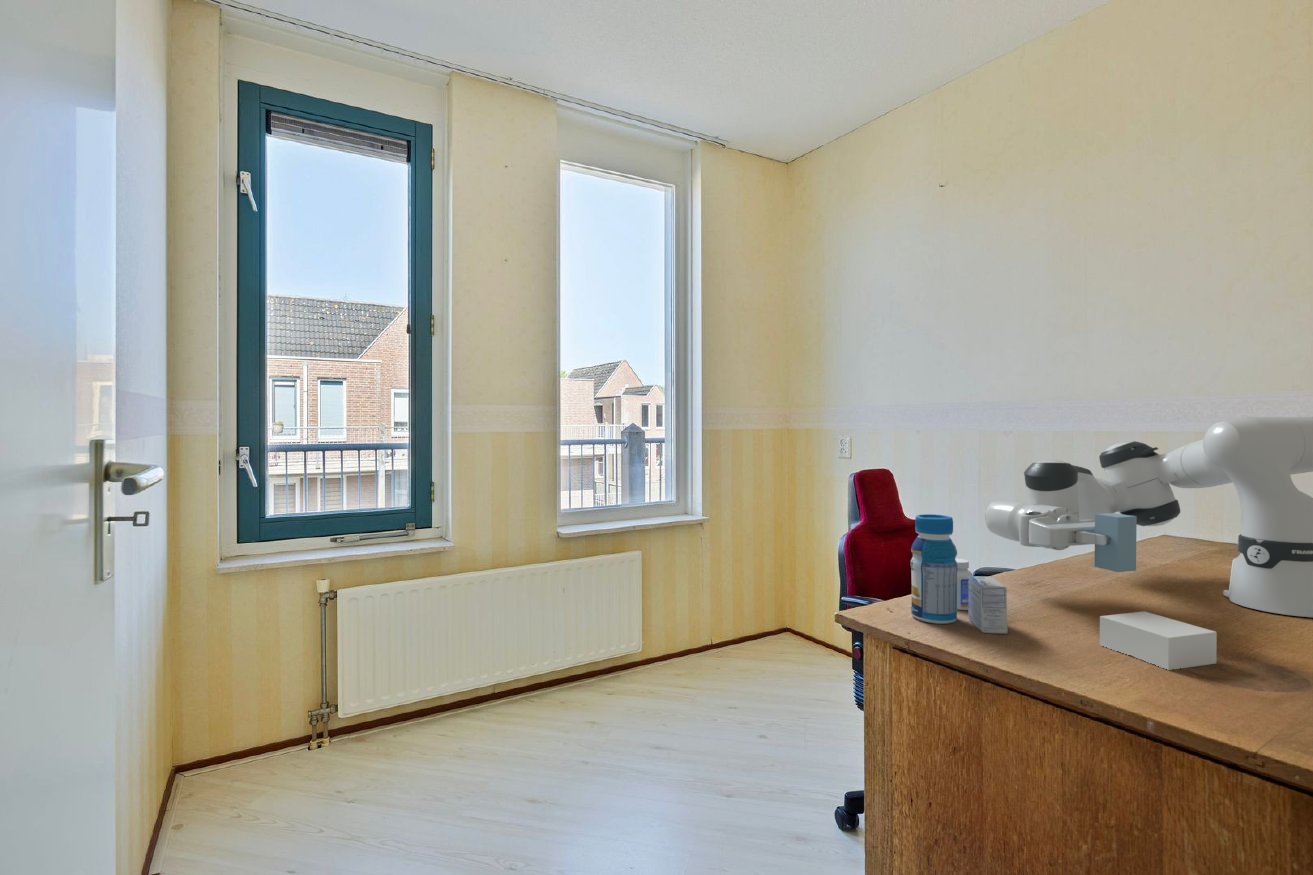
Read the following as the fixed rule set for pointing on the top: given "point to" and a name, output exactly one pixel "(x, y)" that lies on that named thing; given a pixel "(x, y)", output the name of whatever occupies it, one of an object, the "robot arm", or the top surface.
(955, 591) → the beverage bottle
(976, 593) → the medicine box
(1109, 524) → the block
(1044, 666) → the top surface
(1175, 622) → the block
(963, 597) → the pill bottle
